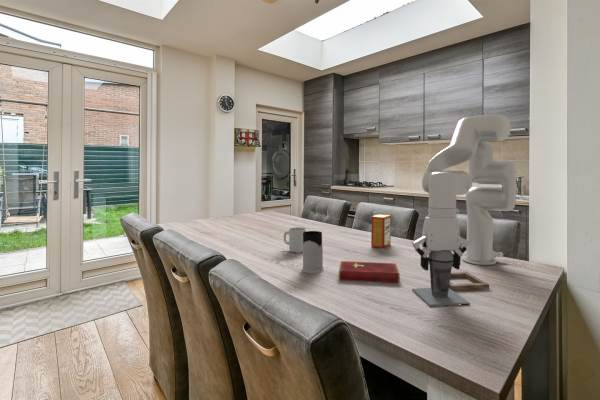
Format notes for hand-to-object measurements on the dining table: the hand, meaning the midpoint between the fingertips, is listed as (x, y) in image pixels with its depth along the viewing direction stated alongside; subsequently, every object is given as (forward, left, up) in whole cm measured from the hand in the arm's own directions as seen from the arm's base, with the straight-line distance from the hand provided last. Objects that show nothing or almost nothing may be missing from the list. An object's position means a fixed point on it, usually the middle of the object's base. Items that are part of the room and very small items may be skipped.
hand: (440, 268), depth 94 cm
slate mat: (0, 0, -9) cm, 9 cm away
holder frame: (-13, -11, -9) cm, 19 cm away
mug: (+42, -61, -9) cm, 75 cm away
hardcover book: (+16, -21, -10) cm, 28 cm away
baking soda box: (-3, -65, -9) cm, 66 cm away
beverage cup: (0, 0, -9) cm, 9 cm away
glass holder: (+35, -33, -9) cm, 49 cm away
